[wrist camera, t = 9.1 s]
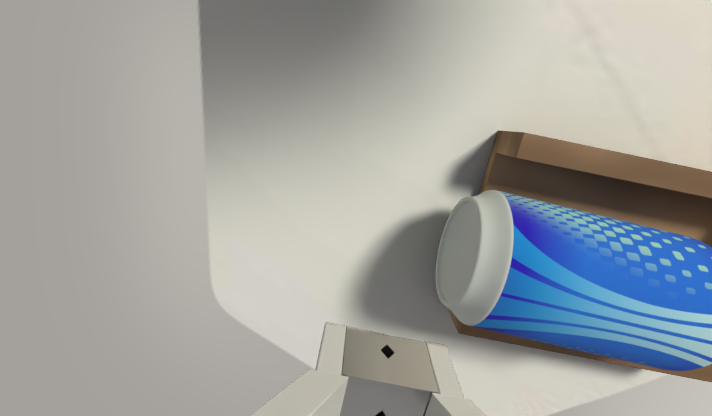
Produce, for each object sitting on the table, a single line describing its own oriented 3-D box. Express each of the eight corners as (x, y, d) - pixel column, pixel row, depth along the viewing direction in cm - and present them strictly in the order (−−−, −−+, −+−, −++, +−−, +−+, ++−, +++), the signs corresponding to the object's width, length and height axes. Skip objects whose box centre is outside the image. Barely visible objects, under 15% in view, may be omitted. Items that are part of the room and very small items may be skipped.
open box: (498, 130, 23) (524, 132, 19) (759, 185, 24) (836, 198, 20) (445, 302, 27) (458, 333, 23) (673, 347, 27) (724, 384, 23)
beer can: (448, 352, 18) (724, 414, 18) (506, 210, 15) (828, 287, 16) (424, 274, 26) (617, 318, 26) (459, 171, 23) (674, 223, 24)
